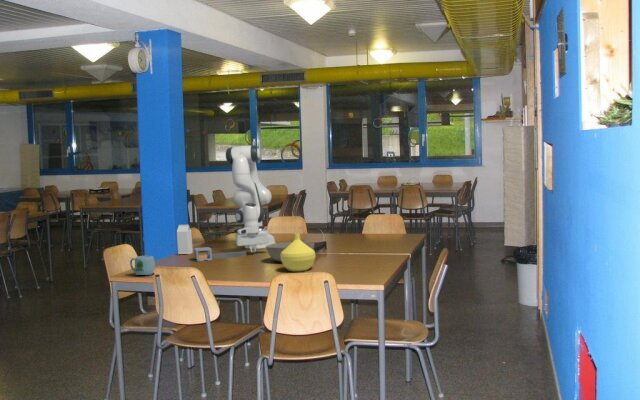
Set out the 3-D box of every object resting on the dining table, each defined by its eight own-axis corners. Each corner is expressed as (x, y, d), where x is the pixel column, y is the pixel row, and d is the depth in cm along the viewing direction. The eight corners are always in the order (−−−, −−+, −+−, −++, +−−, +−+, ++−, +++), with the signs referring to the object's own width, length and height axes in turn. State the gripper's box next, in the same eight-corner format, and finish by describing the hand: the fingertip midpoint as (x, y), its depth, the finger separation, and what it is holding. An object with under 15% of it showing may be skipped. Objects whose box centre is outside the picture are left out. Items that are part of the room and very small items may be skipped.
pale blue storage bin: (209, 258, 409) (208, 246, 408) (212, 260, 400) (211, 248, 400) (194, 259, 406) (193, 248, 405) (196, 261, 397) (196, 250, 397)
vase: (288, 266, 362) (286, 231, 361) (320, 266, 357) (318, 231, 356) (276, 273, 345) (274, 236, 344) (310, 273, 340) (308, 235, 338)
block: (206, 259, 406) (205, 250, 406) (207, 260, 401) (206, 251, 401) (197, 259, 404) (197, 251, 404) (198, 261, 400) (198, 252, 399)
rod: (245, 256, 412) (245, 251, 411) (246, 256, 409) (246, 251, 409) (207, 259, 406) (207, 254, 406) (208, 260, 404) (208, 255, 403)
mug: (124, 276, 359) (123, 258, 358) (137, 272, 369) (135, 254, 368) (148, 277, 353) (146, 258, 353) (160, 273, 363) (159, 254, 363)
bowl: (304, 265, 365) (303, 247, 365) (258, 264, 375) (257, 247, 374) (321, 256, 391) (320, 239, 390) (278, 256, 401) (277, 240, 400)
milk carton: (188, 254, 427) (186, 225, 426) (178, 255, 429) (176, 225, 427) (192, 253, 434) (190, 223, 433) (182, 253, 436) (180, 224, 434)
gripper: (267, 227, 418) (268, 249, 419) (234, 230, 411) (236, 252, 412) (269, 228, 412) (270, 251, 413) (236, 231, 405) (238, 254, 406)
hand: (253, 252), depth 413 cm, fingers closed
